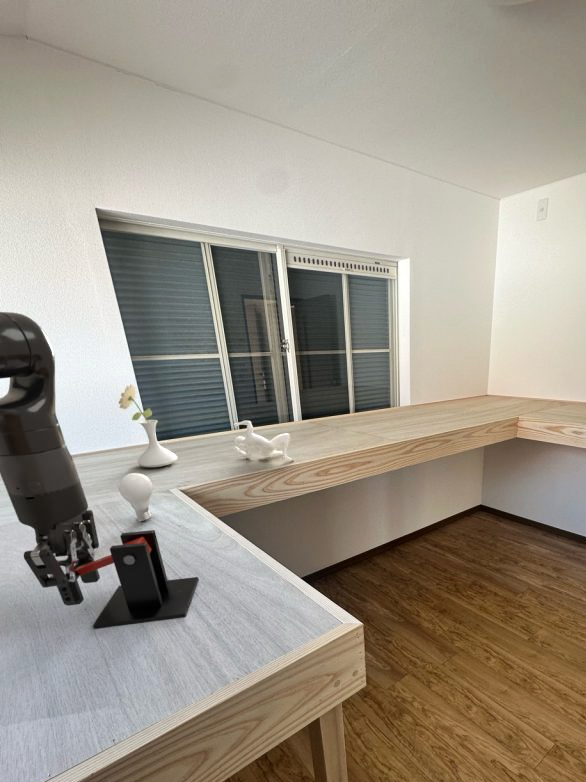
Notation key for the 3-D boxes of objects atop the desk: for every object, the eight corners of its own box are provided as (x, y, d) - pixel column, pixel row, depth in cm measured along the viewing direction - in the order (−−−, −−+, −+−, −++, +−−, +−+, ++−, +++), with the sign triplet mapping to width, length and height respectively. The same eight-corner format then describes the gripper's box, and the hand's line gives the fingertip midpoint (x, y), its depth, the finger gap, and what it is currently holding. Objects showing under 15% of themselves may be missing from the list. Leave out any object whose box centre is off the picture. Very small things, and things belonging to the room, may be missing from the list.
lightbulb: (138, 528, 89) (125, 480, 85) (122, 522, 92) (109, 475, 88) (166, 518, 94) (155, 472, 89) (150, 512, 97) (138, 467, 93)
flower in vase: (159, 458, 138) (140, 380, 128) (186, 461, 135) (169, 381, 124) (125, 470, 127) (101, 385, 117) (153, 473, 123) (132, 386, 113)
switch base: (95, 634, 58) (69, 561, 53) (121, 593, 67) (100, 528, 62) (186, 622, 60) (169, 551, 56) (199, 584, 69) (185, 520, 65)
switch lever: (67, 590, 57) (55, 577, 56) (83, 572, 62) (73, 559, 61) (144, 561, 58) (135, 547, 57) (154, 545, 63) (146, 532, 61)
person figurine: (290, 421, 139) (233, 416, 131) (298, 437, 129) (237, 433, 122) (285, 456, 146) (231, 453, 138) (292, 473, 136) (235, 472, 128)
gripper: (40, 468, 59) (77, 569, 66) (-28, 506, 47) (26, 627, 53) (98, 464, 61) (128, 564, 68) (48, 500, 48) (91, 619, 55)
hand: (83, 591), depth 60 cm, fingers closed on switch lever, 5 cm apart
